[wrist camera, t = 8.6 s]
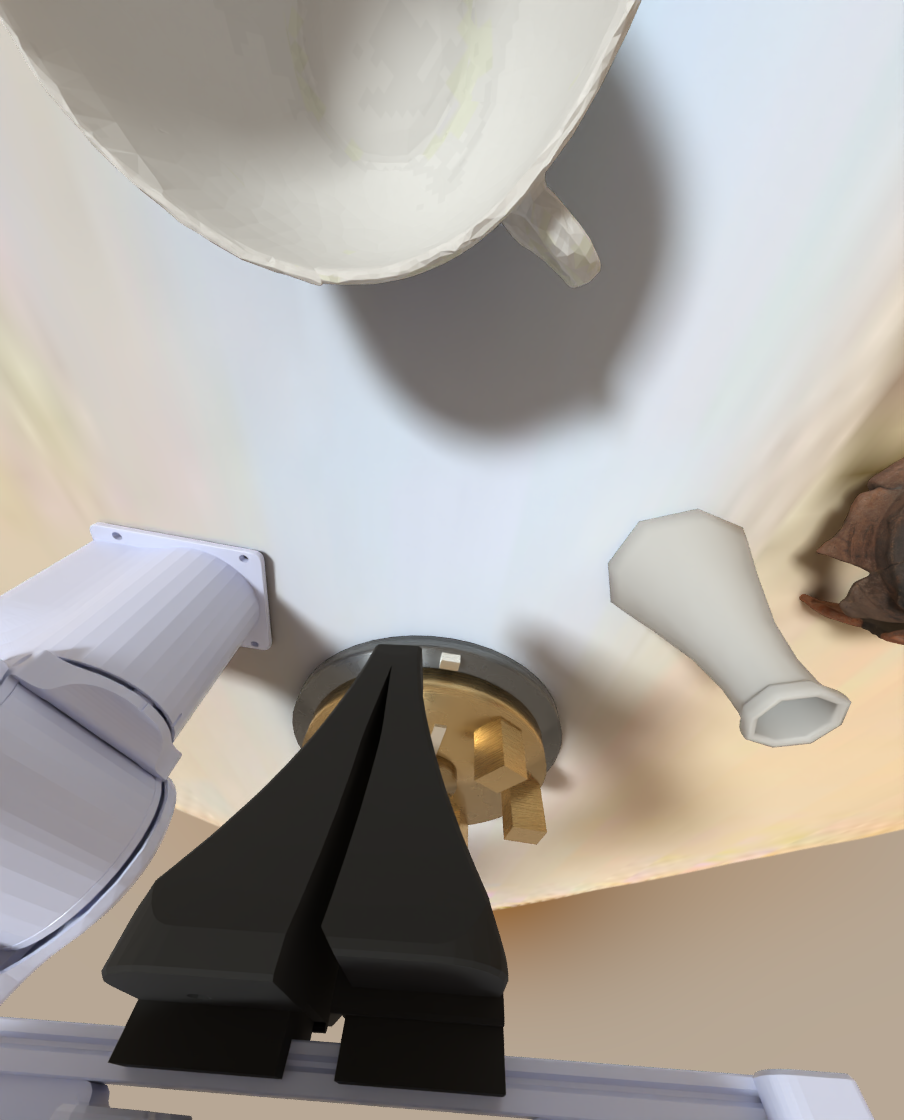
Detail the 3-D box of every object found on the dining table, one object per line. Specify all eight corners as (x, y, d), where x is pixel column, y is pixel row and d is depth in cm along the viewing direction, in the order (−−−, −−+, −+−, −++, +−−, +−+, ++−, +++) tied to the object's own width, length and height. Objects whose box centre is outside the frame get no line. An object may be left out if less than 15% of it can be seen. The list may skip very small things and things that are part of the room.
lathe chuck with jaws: (501, 815, 36) (506, 885, 31) (308, 784, 34) (284, 853, 30) (580, 695, 26) (602, 772, 22) (315, 644, 24) (281, 716, 20)
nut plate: (301, 776, 36) (293, 798, 34) (294, 611, 25) (281, 631, 23) (516, 807, 37) (518, 829, 36) (601, 664, 26) (610, 686, 25)
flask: (707, 616, 24) (838, 782, 15) (590, 609, 24) (657, 771, 15) (765, 510, 20) (985, 656, 11) (625, 502, 20) (740, 641, 11)
